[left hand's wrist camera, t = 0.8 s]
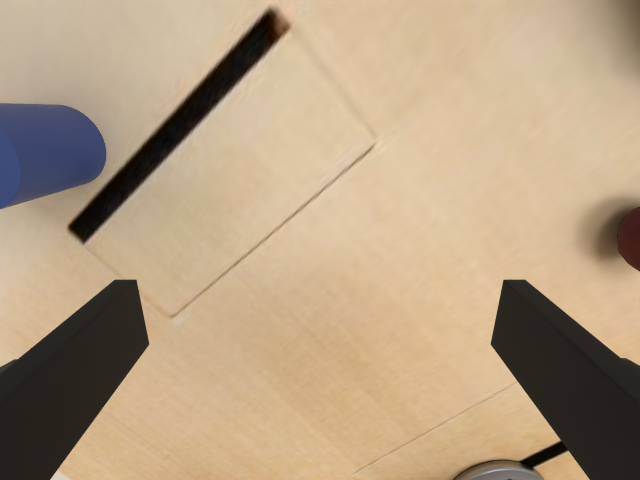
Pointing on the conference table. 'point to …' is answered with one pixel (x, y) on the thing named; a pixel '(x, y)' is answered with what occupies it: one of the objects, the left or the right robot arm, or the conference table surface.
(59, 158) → the canister
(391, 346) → the conference table surface
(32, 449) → the left robot arm
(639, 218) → the dark maroon ball
